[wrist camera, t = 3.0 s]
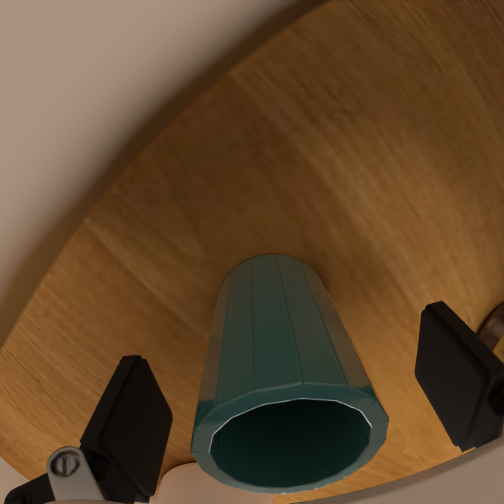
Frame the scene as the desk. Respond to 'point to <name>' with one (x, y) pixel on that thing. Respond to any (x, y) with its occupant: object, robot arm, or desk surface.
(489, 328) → the sauce bottle
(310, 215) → the desk surface
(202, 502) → the mug
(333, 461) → the cup
